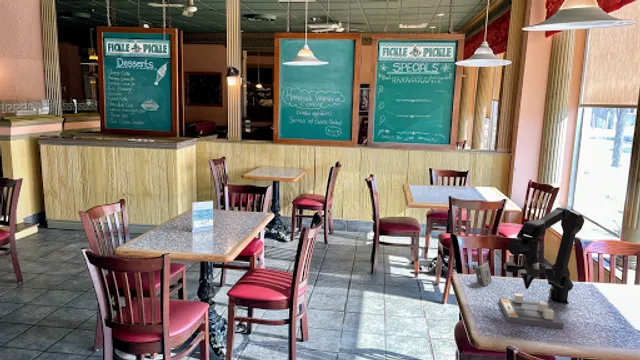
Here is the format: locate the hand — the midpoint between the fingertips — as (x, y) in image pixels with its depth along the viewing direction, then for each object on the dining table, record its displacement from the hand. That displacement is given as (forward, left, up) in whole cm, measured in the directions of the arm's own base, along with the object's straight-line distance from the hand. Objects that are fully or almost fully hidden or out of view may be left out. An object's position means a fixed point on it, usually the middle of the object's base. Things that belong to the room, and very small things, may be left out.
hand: (526, 288), depth 195 cm
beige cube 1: (+3, 0, -6) cm, 7 cm away
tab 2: (-5, +14, -6) cm, 16 cm away
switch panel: (0, +7, -9) cm, 11 cm away
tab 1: (-5, +7, -6) cm, 11 cm away
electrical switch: (+13, -27, -9) cm, 31 cm away
